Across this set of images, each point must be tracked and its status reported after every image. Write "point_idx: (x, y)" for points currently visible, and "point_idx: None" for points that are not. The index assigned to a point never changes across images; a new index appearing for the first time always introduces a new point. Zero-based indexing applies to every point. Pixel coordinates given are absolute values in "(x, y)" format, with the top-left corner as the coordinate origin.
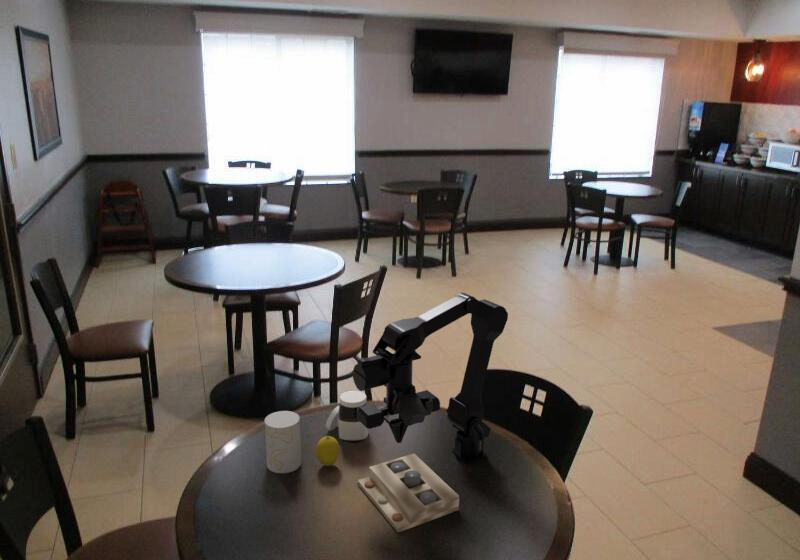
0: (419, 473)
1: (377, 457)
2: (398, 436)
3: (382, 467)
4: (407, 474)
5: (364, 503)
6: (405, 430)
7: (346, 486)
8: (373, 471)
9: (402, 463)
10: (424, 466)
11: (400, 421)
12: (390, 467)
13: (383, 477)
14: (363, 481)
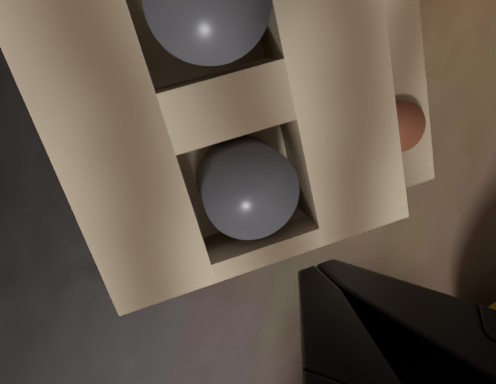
0: (148, 3)
1: (283, 352)
2: (385, 290)
3: (344, 200)
4: (246, 17)
5: (442, 11)
6: (316, 364)
7: (468, 164)
8: (402, 169)
9: (219, 220)
10: (75, 161)
11: None
12: None
13: (370, 96)
14: (414, 161)
